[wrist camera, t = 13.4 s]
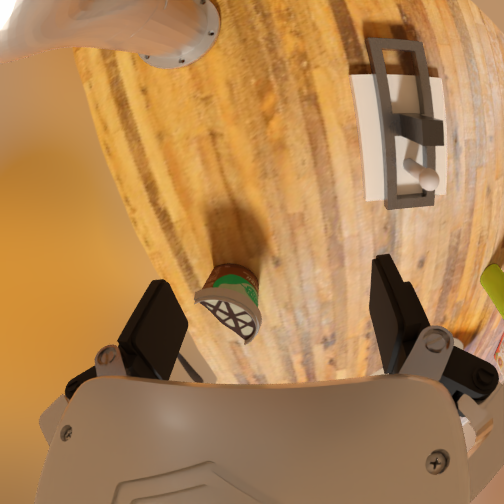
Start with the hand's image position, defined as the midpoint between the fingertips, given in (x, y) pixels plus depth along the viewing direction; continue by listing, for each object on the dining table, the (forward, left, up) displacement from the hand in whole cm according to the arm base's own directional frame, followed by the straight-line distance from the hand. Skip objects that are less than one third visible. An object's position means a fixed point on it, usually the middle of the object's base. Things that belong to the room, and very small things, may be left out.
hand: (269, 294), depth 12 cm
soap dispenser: (+28, +42, -28) cm, 58 cm away
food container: (+20, -10, -28) cm, 36 cm away
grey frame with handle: (-3, +18, -27) cm, 32 cm away
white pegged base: (-1, +18, -28) cm, 34 cm away
